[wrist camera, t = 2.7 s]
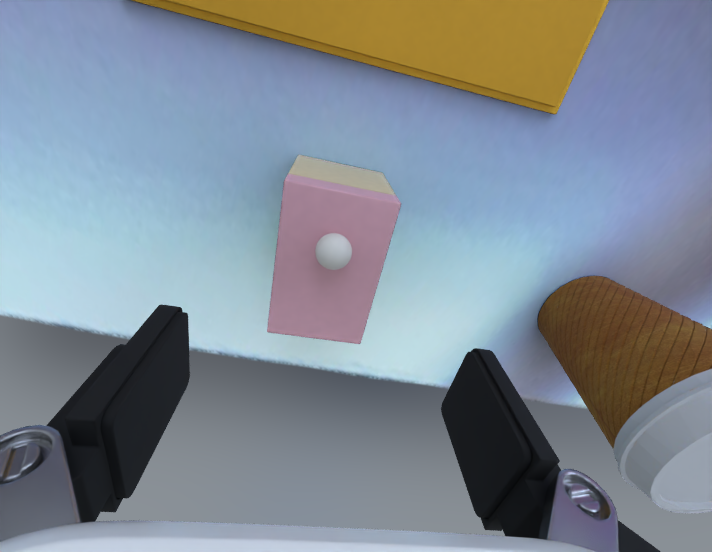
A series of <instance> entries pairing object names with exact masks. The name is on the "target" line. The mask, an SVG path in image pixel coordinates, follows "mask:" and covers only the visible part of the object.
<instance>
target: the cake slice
mask: <svg viewBox="0 0 712 552" xmlns="http://www.w3.org/2000/svg"><path fill="white" fill-rule="evenodd" d="M400 207H401V203H400V201H399V199H398V198H397V196H396V195H395V193H394V191H393V189H392V188H391V186H390V184H389V183H388V181H387V179H386V178H385V176H384V174H383V173H382V172H377V171H372V170H368V169H363V168H359V167H354V166H349V165H345V164H340V163H335V162H331V161H326V160H322V159H317V158H312V157H308V156H303V155H298V156H297V158H296V160H295V162H294V163H293V165H292V167H291V169H290V171H289V173H288V175H287V176H286V178H285V180H284V186H283V195H282V203H281V212H280V221H279V230H278V239H277V248H276V257H275V265H274V274H273V283H272V292H271V301H270V310H269V318H268V327H267V332H270V333H278V334H285V335H293V336H301V337H309V338H317V339H324V340H332V341H340V342H348V343H355V344H360V343H361V340H362V336H363V333H364V330H365V326H366V323H367V319H368V316H369V312H370V309H371V306H372V302H373V299H374V295H375V292H376V289H377V285H378V282H379V278H380V275H381V272H382V268H383V265H384V261H385V258H386V255H387V251H388V248H389V244H390V241H391V237H392V234H393V231H394V227H395V224H396V220H397V217H398V214H399V210H400Z"/></svg>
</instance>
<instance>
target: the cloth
mask: <svg viewBox="0 0 712 552" xmlns="http://www.w3.org/2000/svg"><path fill="white" fill-rule="evenodd" d="M132 1H136V2H139V3H143V4H147V5H150V6H154V7H158V8H162V9H165V10H169V11H173V12H176V13H180V14H184V15H188V16H191V17H195V18H199V19H202V20H206V21H210V22H213V23H217V24H221V25H225V26H228V27H232V28H236V29H239V30H243V31H247V32H251V33H254V34H258V35H262V36H265V37H269V38H273V39H277V40H280V41H284V42H288V43H291V44H295V45H299V46H303V47H306V48H310V49H314V50H317V51H321V52H325V53H329V54H332V55H336V56H340V57H343V58H347V59H351V60H355V61H358V62H362V63H366V64H369V65H373V66H377V67H381V68H384V69H388V70H392V71H395V72H399V73H403V74H406V75H410V76H414V77H418V78H421V79H425V80H429V81H432V82H436V83H440V84H444V85H447V86H451V87H455V88H458V89H462V90H466V91H470V92H473V93H477V94H481V95H484V96H488V97H492V98H496V99H499V100H503V101H507V102H510V103H514V104H518V105H522V106H525V107H529V108H533V109H536V110H540V111H544V112H548V113H551V114H557V111H558V109H559V107H560V105H561V103H562V101H563V98H564V96H565V94H566V92H567V90H568V88H569V86H570V83H571V81H572V79H573V77H574V75H575V73H576V70H577V68H578V66H579V64H580V62H581V60H582V58H583V55H584V53H585V51H586V49H587V47H588V45H589V42H590V40H591V38H592V36H593V34H594V32H595V29H596V27H597V25H598V23H599V21H600V19H601V17H602V14H603V12H604V10H605V8H606V6H607V4H608V1H609V0H132Z"/></svg>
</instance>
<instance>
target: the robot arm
mask: <svg viewBox="0 0 712 552" xmlns="http://www.w3.org/2000/svg"><path fill="white" fill-rule="evenodd" d="M189 373H190V372H189V333H188V314H187V313H184V312H182V308H181V307H175V306H168V305H159V306H158V307H157V308H156V309H155V311H154V312H153V313H152V314H151V315H150V317H149V318H148V319H147V320H146V321H145V323H144V324H143V325H142V326H141V327H140V328H139V330H138V331H137V332H136V333H135V334H134V336H133V337H132V338H131V339H130V340H129V342H128V343H127V344H126V345H123V344H120V345H118V346H116V347H115V348H114V349H113V350H112V351H111V352H110V353H109V355H108V356H107V357H106V358H105V359H104V360H103V361H102V363H101V364H100V365H99V366H98V367H97V368H96V370H95V371H94V372H93V373H92V374H91V375H90V377H88V379H87V380H86V381H85V382H84V383H83V384H82V385H81V387H80V388H79V389H78V390H77V391H76V392H75V394H74V395H73V396H72V397H71V398H70V399H69V401H68V402H67V403H66V404H65V405H64V406H63V407H62V408H61V410H60V411H59V412H58V413H57V414H56V415H55V416H54V418H53V419H52V420H51V421H50V422H49V423H48V425H47V426H43V425H35V426H26V427H23V428H19V429H15V430H12V431H10V432H7V433H5V434H3V435H0V552H660V551H659V550H658V549H656V548H655V547H654V546H652V545H651V544H649V543H648V542H647V541H645V540H644V539H643V538H641V537H640V536H639V535H637V534H636V533H635V532H633V531H632V530H630V529H629V528H627V527H626V526H625V525H624V524H622V523H621V522H620V521H618V517H617V512H616V508H615V506H614V504H613V502H612V500H611V499H610V497H609V496H608V495H607V493H606V492H605V491H604V490H603V489H602V488H601V487H600V486H599V485H598V484H597V483H596V482H595V481H594V480H592V479H591V478H590V477H588V476H587V475H585V474H583V473H581V472H579V471H577V470H573V469H564V470H562V471H561V469H560V468H559V466H558V463H559V459H558V457H557V456H556V454H555V453H554V451H553V449H552V448H551V446H550V444H549V443H548V441H547V439H546V438H545V436H544V435H543V433H542V431H541V430H540V428H539V427H538V425H537V423H536V422H535V420H534V418H533V417H532V415H531V413H530V412H529V410H528V408H527V407H526V405H525V404H524V402H523V400H522V399H521V397H520V395H519V394H518V392H517V391H516V389H515V387H514V386H513V384H512V382H511V381H510V379H509V378H508V376H507V374H506V373H505V371H504V369H503V368H502V366H501V365H500V363H499V361H498V360H497V358H496V356H495V355H494V353H493V352H492V351H490V350H484V349H476V348H475V349H473V350H472V351H471V352H468V353H467V354H466V356H465V358H464V360H463V362H462V364H461V366H460V368H459V370H458V372H457V374H456V376H455V378H454V380H453V382H452V384H451V386H450V388H449V391H448V392H447V394H446V397H445V399H444V401H443V403H442V407H441V410H442V415H443V418H444V422H445V424H446V427H447V430H448V433H449V436H450V439H451V442H452V445H453V448H454V451H455V454H456V457H457V460H458V463H459V466H460V469H461V472H462V475H463V478H464V481H465V484H466V487H467V490H468V493H469V496H470V499H471V502H472V505H473V508H474V511H475V513H476V514H477V516H478V517H481V520H482V523H483V526H484V528H485V530H498V531H501V530H503V531H504V534H505V536H494V535H478V534H459V533H440V532H421V531H401V530H379V529H358V528H357V529H356V528H336V527H314V526H290V525H264V524H240V523H215V522H181V521H180V522H179V521H135V520H133V521H132V520H131V521H96V519H97V517H98V515H99V513H100V512H116V511H117V509H118V507H119V505H120V503H121V501H122V499H123V498H129V497H130V496H131V495H132V493H133V491H134V490H135V488H136V486H137V484H138V482H139V480H140V478H141V476H142V474H143V472H144V470H145V468H146V466H147V464H148V462H149V460H150V458H151V456H152V454H153V452H154V450H155V448H156V446H157V445H158V443H159V440H160V439H161V437H162V435H163V433H164V431H165V429H166V427H167V425H168V423H169V421H170V419H171V417H172V415H173V413H174V411H175V409H176V407H177V405H178V403H179V401H180V399H181V397H182V395H183V393H184V391H185V389H186V387H187V385H188V382H189V377H190V374H189Z"/></svg>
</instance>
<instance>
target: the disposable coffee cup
mask: <svg viewBox="0 0 712 552" xmlns="http://www.w3.org/2000/svg"><path fill="white" fill-rule="evenodd" d="M538 327H539V330H540V332H541V334H542V335H543V336H544V338H545V340H546V341H547V343H548V344H549V346H550V348H551V349H552V351H553V353H554V354H555V356H556V357H557V359H558V361H559V362H560V364H561V365H562V367H563V369H564V371H565V372H566V374H567V375H568V377H569V378H570V380H571V382H572V383H573V385H574V386H575V388H576V390H577V391H578V393H579V395H580V396H581V398H582V399H583V401H584V403H585V404H586V406H587V408H588V409H589V411H590V412H591V414H592V415H593V417H594V419H595V420H596V422H597V424H598V425H599V427H600V428H601V430H602V432H603V433H604V435H605V436H606V438H607V440H608V442H609V443H610V445H611V446H612V448H613V451H614V455H615V459H616V461H617V462H618V470H619V472H620V474H621V475H622V477H623V478H624V480H625V481H626V482H627V483H628V484H630V485H631V486H632V487H635V488H637V489H640V490H641V491H642V492H644V493H645V494H646V495H647V496H648V497H649V498H650V499H651V500H652V501H653V502H654V503H655V504H656V505H657V506H659V507H661V508H662V509H665V510H668V511H671V512H677V513H703V512H712V329H710V328H708V327H705V326H703V325H702V324H700V323H698V322H695V321H692V320H691V319H690V318H688V317H685V316H683V315H680V314H679V313H678V312H675V311H673V310H670V309H669V308H667V307H665V306H663V305H660V304H659V303H657V302H655V301H653V300H651V299H649V298H647V297H645V296H642V295H641V294H639V293H637V292H634V291H633V290H631V289H629V288H625V286H623V285H620V284H618V283H616V282H614V281H612V280H611V279H609V278H606V277H602V276H589V277H583V278H579V279H576V280H573V281H571V282H569V283H567V284H565V285H563V286H562V287H560V288H559V289H558V290H556V291H555V292H554V293H553V294H552V295H551V296H550V297H549V298H548V299H547V300H546V302H545V303H544V305H543V306H542V308H541V310H540V312H539V316H538Z"/></svg>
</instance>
